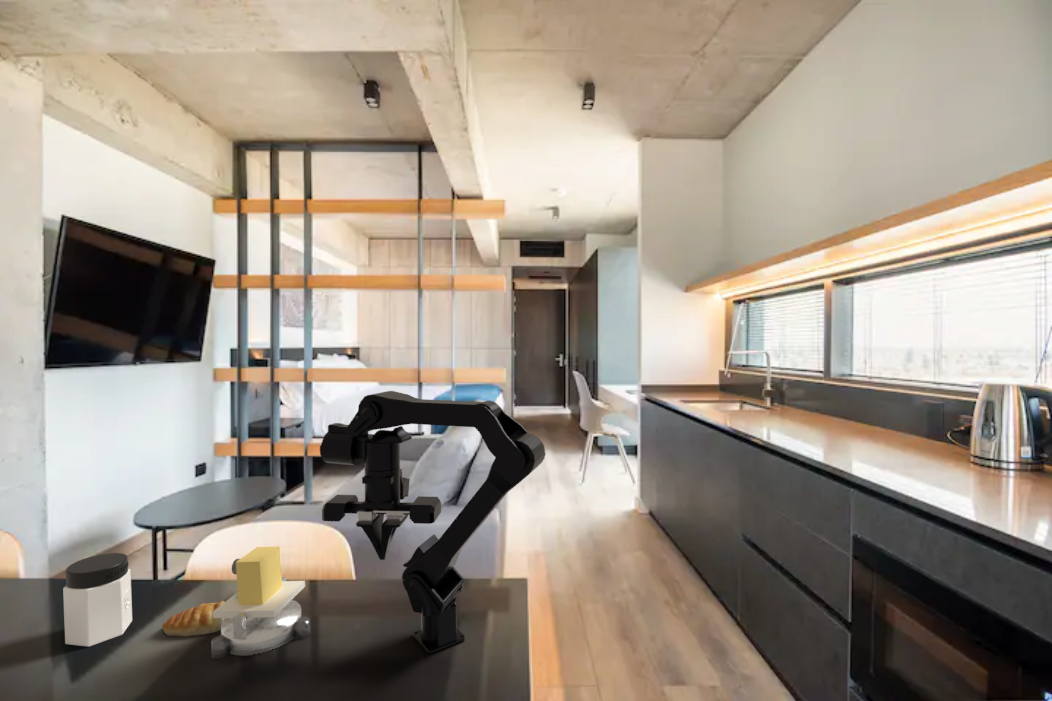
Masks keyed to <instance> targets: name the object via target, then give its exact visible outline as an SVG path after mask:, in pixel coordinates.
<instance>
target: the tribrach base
mask: <svg viewBox="0 0 1052 701" xmlns="http://www.w3.org/2000/svg"><path fill="white" fill-rule="evenodd" d="M282 581H287V577H285V576H282ZM310 623H311V622H310V617H307V616H302V606H301V604H300V603H299V602H298V601H296V600H294V599H292V600H291V601H290V602H289V603H288V604H287V605H286V606H285V607H284V608H283V609H282V610H281V611H280V612H279V613H278V614H277V615H276V616H275V617H249V618H247V619H246V613H237V614H235V615H234V616H233V618H224V619H223V621H222V623H221V629H220V635H218V636H216V637H213V638H212V639H211V642H210V643H211V644H210V646H211V650H210V651H211V658H212V659H213V660H221V659H223V658H225V657H227V656H228V655H229V654H230V655H234V656H246V657H247V656H254V655H253V654H255V655H259V654H258V653H260V654H264V653H267V651H268V652H270V651H269V650H271V651H273V650H272V649H274V650H276V649H278V647H279V648H281V647H283V646H285V645H286V644H288V643H289V642H291V641H293V639H295V640H302V639H305V638H308V637H309V636H310V634H311V628H310V625H311V624H310ZM294 637H295V638H294ZM290 640H291V641H290ZM284 644H285V645H284ZM282 645H283V646H282ZM280 646H281V647H280ZM275 648H276V649H275ZM263 652H264V653H263Z"/></svg>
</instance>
